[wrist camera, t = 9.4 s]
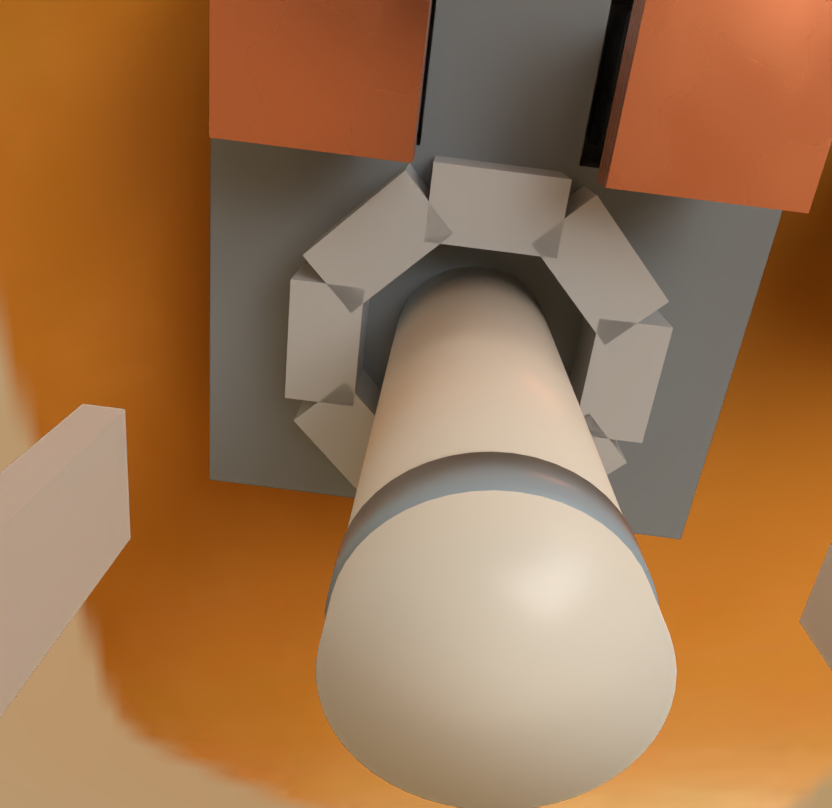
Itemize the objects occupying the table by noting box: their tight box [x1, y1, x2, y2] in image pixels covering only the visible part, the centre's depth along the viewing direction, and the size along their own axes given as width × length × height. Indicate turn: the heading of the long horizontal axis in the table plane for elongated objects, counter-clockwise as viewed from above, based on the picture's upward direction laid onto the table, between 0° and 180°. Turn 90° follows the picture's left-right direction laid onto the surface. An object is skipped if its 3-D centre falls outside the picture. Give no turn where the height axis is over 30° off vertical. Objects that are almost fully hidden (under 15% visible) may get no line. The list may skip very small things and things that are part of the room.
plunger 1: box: [209, 0, 432, 163], centre depth 19 cm, size 5×5×7 cm
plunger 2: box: [588, 0, 832, 214], centre depth 19 cm, size 5×5×7 cm
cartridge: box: [316, 266, 677, 808], centre depth 16 cm, size 5×5×14 cm
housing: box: [209, 0, 783, 539], centre depth 23 cm, size 17×16×7 cm
